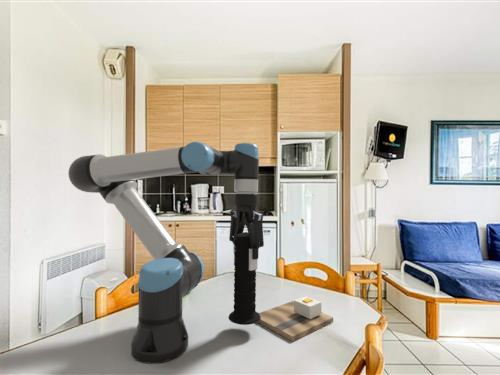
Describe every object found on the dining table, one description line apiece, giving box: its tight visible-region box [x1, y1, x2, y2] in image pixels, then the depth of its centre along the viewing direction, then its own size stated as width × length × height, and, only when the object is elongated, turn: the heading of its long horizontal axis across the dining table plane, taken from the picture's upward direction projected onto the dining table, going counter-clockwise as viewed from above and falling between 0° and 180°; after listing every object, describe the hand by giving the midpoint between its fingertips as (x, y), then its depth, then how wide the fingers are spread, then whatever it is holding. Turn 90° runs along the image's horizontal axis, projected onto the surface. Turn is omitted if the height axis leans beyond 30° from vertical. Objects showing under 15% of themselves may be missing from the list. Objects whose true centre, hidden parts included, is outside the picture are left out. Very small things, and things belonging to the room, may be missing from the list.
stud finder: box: [293, 295, 322, 319], centre depth 96 cm, size 6×7×4 cm
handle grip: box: [228, 231, 261, 326], centre depth 87 cm, size 10×26×10 cm
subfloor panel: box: [257, 300, 334, 342], centre depth 94 cm, size 20×18×2 cm
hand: (245, 266), depth 87 cm, fingers closed on handle grip, 7 cm apart
